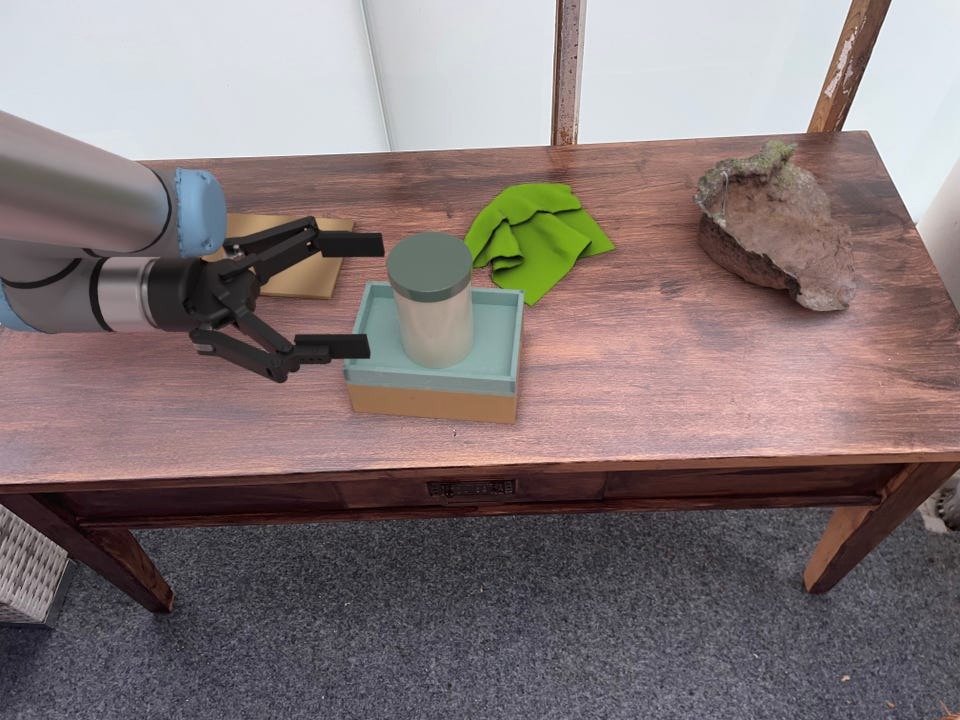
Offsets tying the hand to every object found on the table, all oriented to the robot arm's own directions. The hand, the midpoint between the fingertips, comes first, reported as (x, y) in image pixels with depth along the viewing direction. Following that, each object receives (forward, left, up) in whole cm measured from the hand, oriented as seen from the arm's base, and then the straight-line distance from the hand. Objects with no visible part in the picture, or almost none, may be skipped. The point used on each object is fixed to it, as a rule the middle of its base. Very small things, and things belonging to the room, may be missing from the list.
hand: (376, 292), depth 71 cm
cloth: (+14, +22, -13) cm, 29 cm away
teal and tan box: (+6, 0, -13) cm, 14 cm away
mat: (-18, +17, -13) cm, 28 cm away
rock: (+44, +22, -13) cm, 51 cm away
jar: (+6, 0, -7) cm, 9 cm away
